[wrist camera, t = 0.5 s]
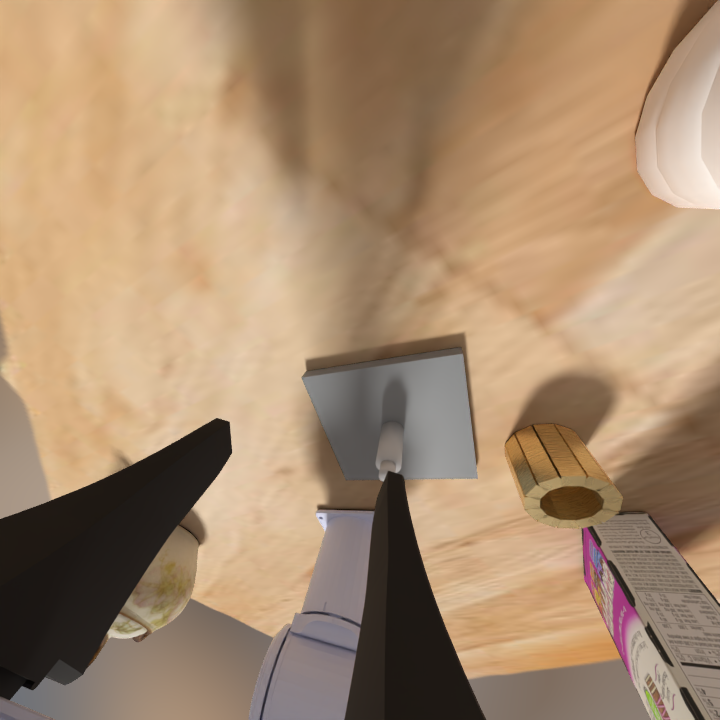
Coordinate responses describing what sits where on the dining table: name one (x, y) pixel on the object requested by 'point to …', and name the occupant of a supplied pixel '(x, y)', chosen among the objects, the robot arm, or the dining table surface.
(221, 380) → the dining table surface
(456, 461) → the stand
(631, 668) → the candy bar box
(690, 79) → the bottle
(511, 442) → the collar
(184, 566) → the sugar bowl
